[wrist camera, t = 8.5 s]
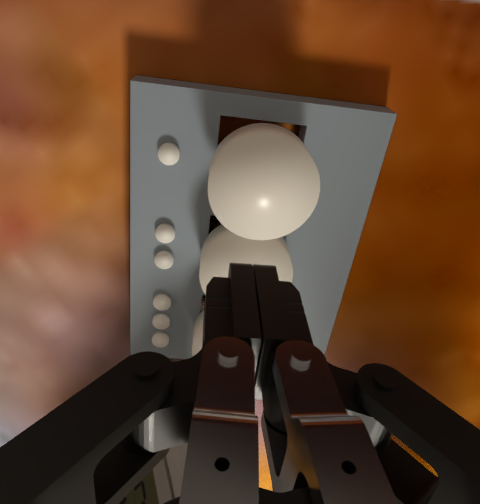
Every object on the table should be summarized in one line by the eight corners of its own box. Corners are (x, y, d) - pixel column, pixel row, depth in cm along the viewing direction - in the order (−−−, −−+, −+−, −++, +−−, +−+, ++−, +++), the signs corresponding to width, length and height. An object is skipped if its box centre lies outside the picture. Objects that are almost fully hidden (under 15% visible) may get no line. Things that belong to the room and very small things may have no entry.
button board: (386, 106, 21) (399, 115, 20) (316, 351, 29) (321, 371, 28) (136, 75, 20) (128, 81, 18) (134, 338, 28) (129, 359, 26)
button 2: (291, 209, 23) (301, 239, 20) (276, 280, 26) (284, 316, 23) (205, 200, 23) (203, 230, 20) (198, 273, 25) (195, 309, 22)
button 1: (315, 120, 20) (332, 141, 17) (295, 211, 22) (307, 244, 19) (214, 108, 19) (213, 128, 16) (205, 202, 22) (203, 235, 19)
